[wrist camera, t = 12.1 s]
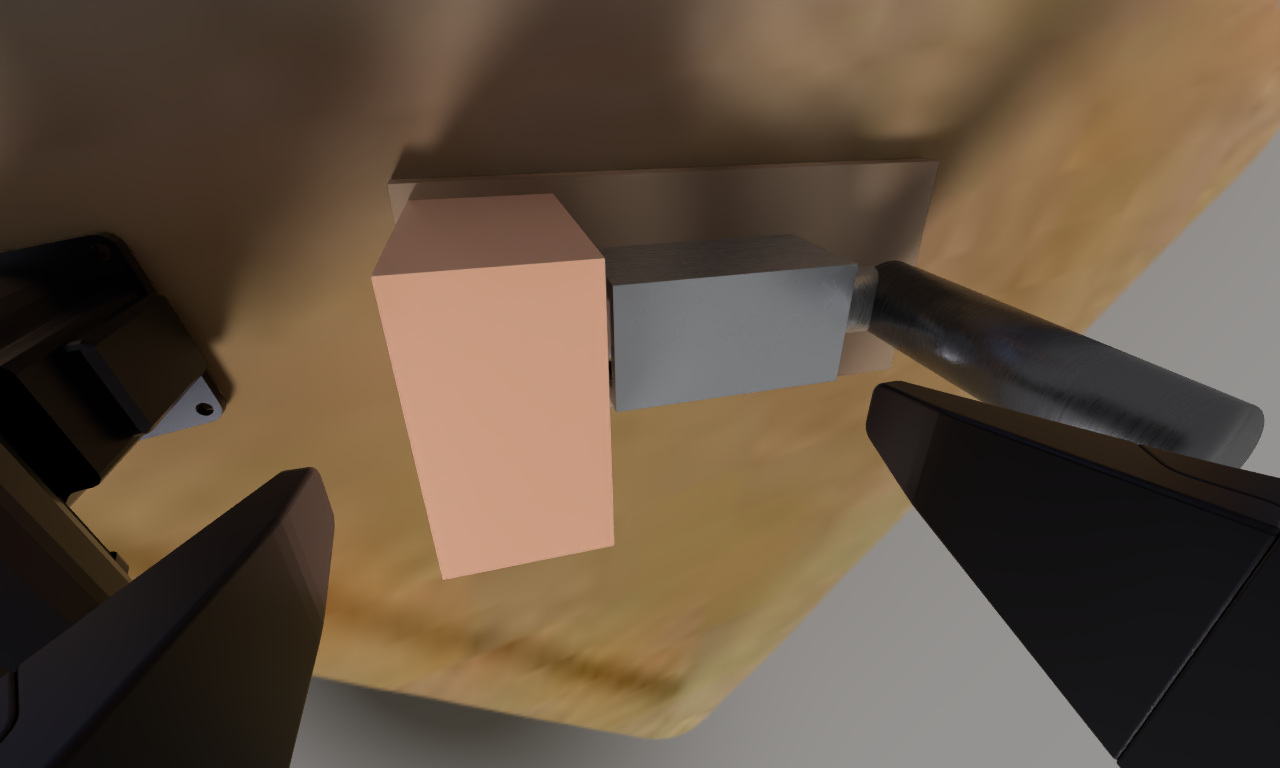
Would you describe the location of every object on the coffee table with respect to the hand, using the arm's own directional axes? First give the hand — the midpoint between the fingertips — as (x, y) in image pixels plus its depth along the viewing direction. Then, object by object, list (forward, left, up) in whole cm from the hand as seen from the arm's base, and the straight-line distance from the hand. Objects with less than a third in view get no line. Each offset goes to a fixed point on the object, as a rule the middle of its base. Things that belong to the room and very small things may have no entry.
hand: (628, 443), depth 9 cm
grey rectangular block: (+5, -3, -12) cm, 13 cm away
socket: (-2, -2, -12) cm, 12 cm away
